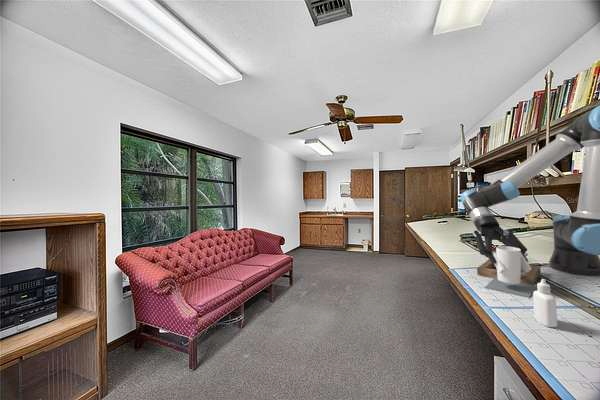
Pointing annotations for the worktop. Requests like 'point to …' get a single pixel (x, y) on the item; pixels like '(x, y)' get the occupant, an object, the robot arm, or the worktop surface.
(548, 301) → the eye dropper bottle
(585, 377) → the worktop surface
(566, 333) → the worktop surface
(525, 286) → the rubber mat
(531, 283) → the walnut collar
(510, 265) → the mug
